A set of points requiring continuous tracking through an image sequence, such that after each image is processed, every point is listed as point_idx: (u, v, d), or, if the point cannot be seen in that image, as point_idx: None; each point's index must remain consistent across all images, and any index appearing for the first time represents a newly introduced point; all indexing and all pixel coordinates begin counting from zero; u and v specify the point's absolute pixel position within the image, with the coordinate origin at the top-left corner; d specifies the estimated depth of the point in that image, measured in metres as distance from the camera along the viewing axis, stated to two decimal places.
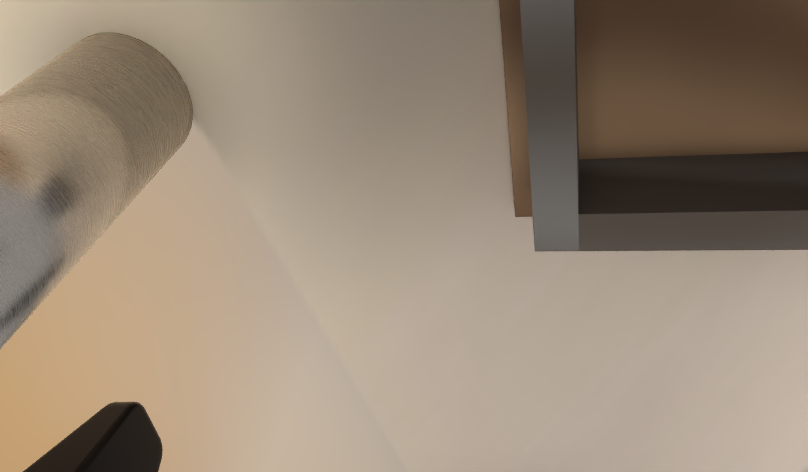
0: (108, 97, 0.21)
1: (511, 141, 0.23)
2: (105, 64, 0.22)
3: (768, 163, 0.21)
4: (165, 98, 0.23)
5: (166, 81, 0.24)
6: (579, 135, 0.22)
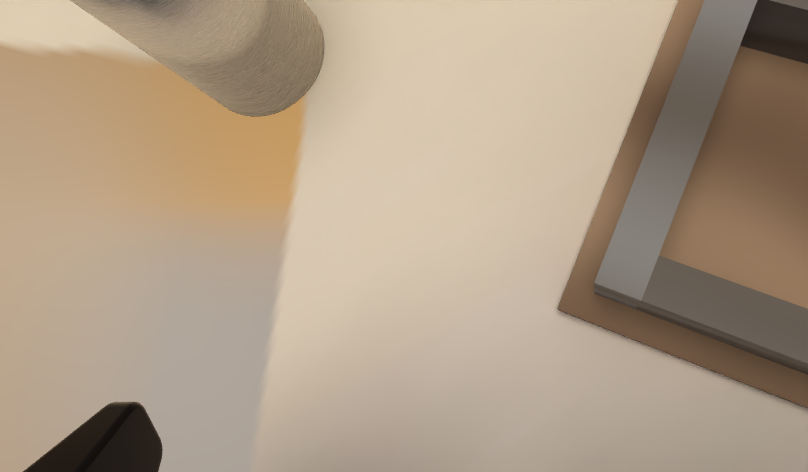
0: None
1: (592, 223, 0.22)
2: None
3: None
4: (309, 43, 0.25)
5: (315, 39, 0.25)
6: None
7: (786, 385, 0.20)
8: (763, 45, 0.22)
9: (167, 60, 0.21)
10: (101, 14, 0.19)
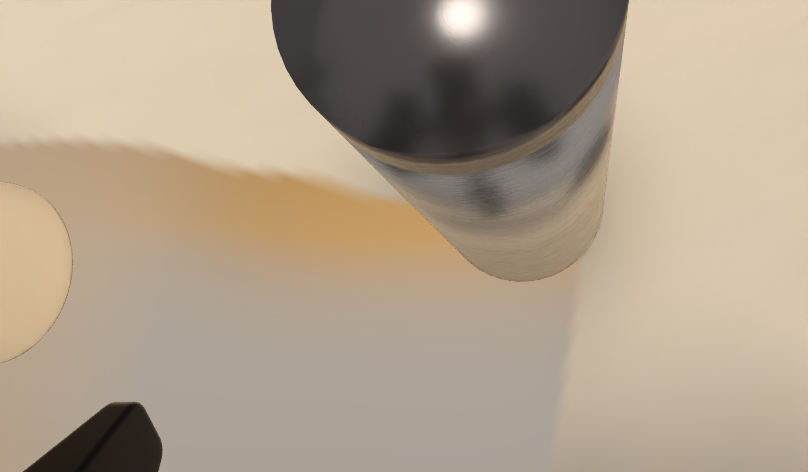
0: None
1: None
2: None
3: None
4: (602, 208, 0.20)
5: None
6: None
7: None
8: None
9: (476, 250, 0.17)
10: (453, 225, 0.14)
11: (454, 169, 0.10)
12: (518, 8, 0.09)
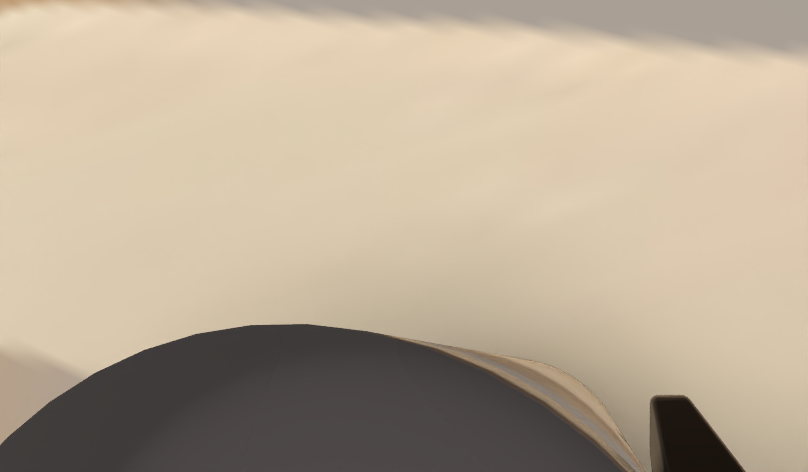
0: None
1: None
2: None
3: None
4: None
5: None
6: None
7: None
8: None
9: None
10: None
11: None
12: None
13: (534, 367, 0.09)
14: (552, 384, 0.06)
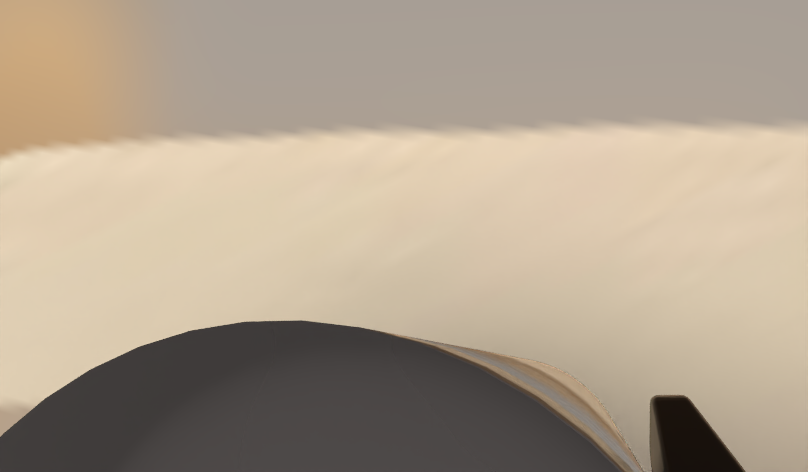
0: None
1: None
2: None
3: None
4: None
5: None
6: None
7: None
8: None
9: None
10: None
11: None
12: None
13: (531, 365, 0.09)
14: (548, 382, 0.06)
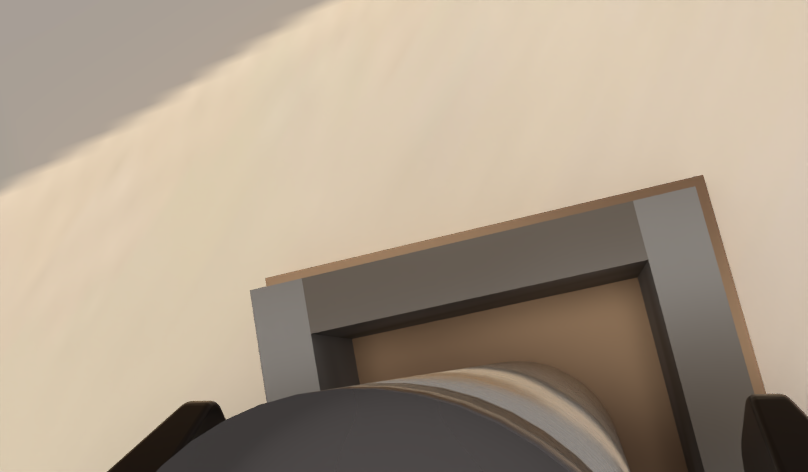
0: None
1: None
2: (603, 410, 0.15)
3: None
4: None
5: None
6: None
7: None
8: (372, 332, 0.18)
9: None
10: None
11: None
12: None
13: (536, 384, 0.10)
14: (549, 408, 0.08)
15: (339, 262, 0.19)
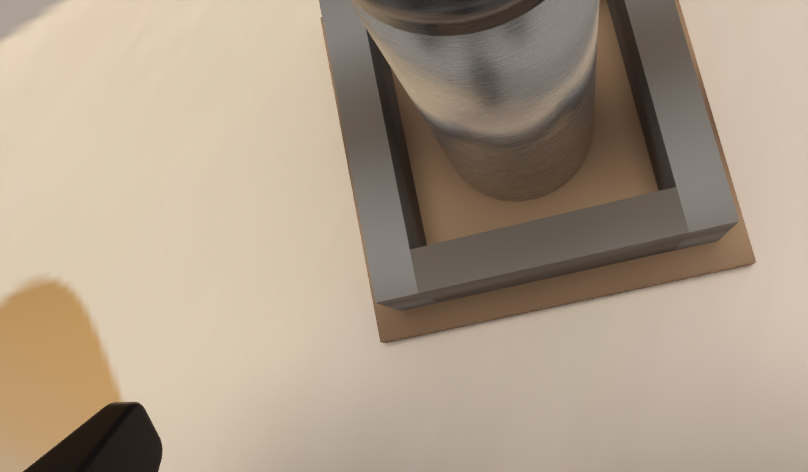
0: None
1: (366, 256, 0.24)
2: None
3: None
4: (592, 128, 0.22)
5: None
6: (426, 238, 0.24)
7: (584, 286, 0.22)
8: None
9: (474, 154, 0.18)
10: (454, 115, 0.16)
11: (455, 28, 0.11)
12: None
13: None
14: None
15: None
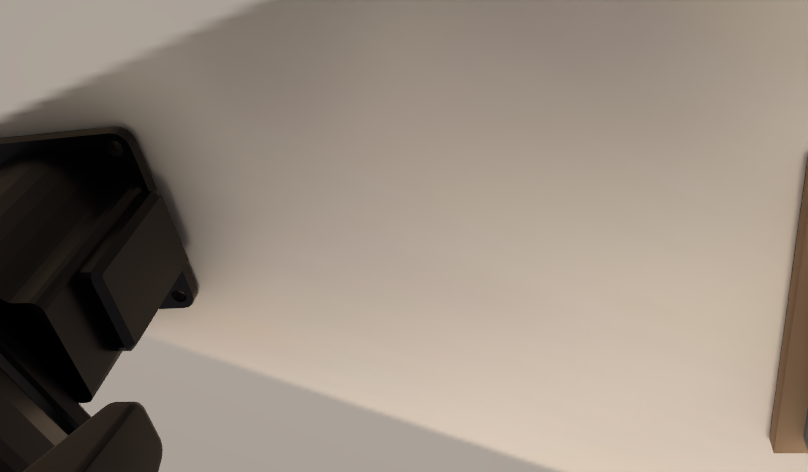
0: None
1: None
2: None
3: None
4: None
5: None
6: None
7: (800, 348, 0.23)
8: None
9: None
10: None
11: None
12: None
13: None
14: None
15: None
